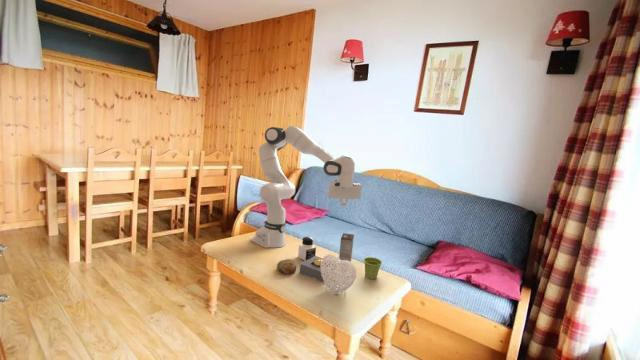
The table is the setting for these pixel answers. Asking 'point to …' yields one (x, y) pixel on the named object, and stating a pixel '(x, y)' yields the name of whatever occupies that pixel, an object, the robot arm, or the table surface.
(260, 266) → the table surface
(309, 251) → the medicine bottle
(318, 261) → the brass button
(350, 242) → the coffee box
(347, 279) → the decorative heart
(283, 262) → the bread roll
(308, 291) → the table surface
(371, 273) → the plant pot
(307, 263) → the switch block
